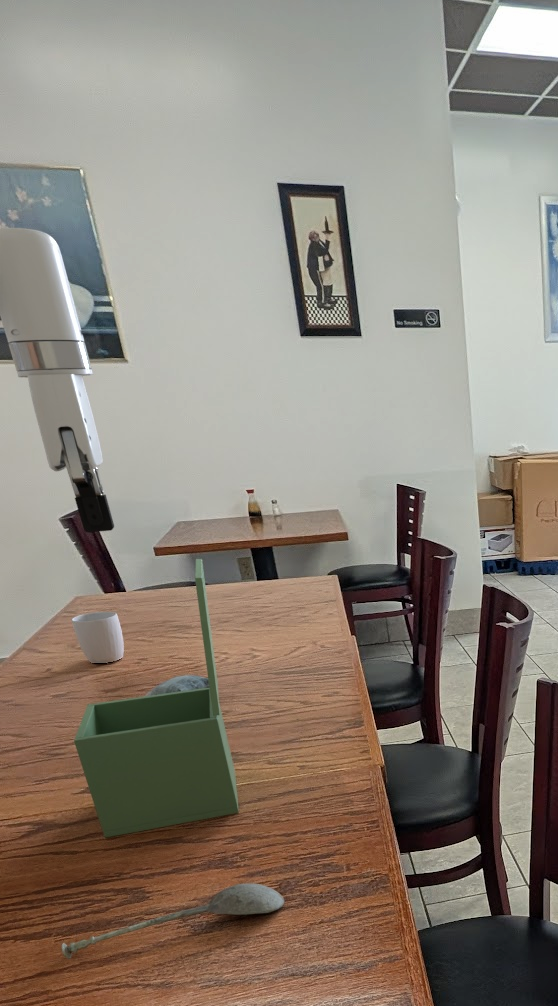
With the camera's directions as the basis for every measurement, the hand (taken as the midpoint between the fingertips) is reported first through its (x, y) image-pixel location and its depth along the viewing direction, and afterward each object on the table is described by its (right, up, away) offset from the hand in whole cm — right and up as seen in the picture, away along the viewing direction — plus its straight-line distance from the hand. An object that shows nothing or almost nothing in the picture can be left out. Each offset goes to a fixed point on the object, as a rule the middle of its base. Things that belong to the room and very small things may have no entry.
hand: (99, 530), depth 100 cm
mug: (-46, -2, +86) cm, 97 cm away
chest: (+1, -34, +17) cm, 38 cm away
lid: (+9, -11, +9) cm, 17 cm away
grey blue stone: (-16, -15, +56) cm, 60 cm away
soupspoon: (+15, -47, -11) cm, 51 cm away
